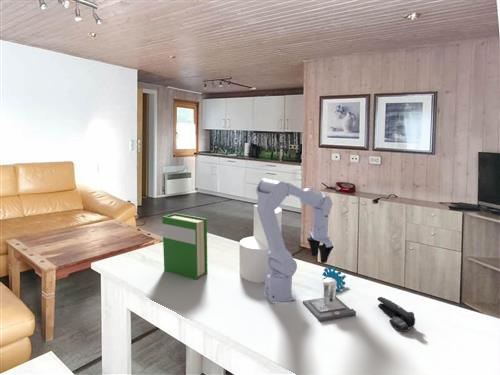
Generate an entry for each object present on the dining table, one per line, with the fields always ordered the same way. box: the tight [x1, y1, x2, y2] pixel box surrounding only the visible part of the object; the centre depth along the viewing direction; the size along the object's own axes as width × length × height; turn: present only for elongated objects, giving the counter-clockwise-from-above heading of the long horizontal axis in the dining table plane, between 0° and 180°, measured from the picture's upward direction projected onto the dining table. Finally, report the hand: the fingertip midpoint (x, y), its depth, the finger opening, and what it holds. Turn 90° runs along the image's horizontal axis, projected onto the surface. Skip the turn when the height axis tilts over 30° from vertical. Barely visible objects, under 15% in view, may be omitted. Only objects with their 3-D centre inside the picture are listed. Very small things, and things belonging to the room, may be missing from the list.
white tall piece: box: [239, 204, 283, 283], centre depth 149 cm, size 17×17×28 cm
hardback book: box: [162, 212, 208, 281], centre depth 150 cm, size 18×7×24 cm, turn 59°
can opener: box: [377, 296, 416, 332], centre depth 116 cm, size 18×7×6 cm, turn 10°
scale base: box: [302, 295, 357, 323], centre depth 122 cm, size 13×13×2 cm
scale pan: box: [309, 298, 346, 313], centre depth 123 cm, size 10×8×1 cm
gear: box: [322, 266, 347, 292], centre depth 140 cm, size 11×6×10 cm
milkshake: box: [321, 277, 337, 306], centre depth 122 cm, size 4×5×10 cm
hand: (319, 259), depth 140 cm, fingers open, 7 cm apart
